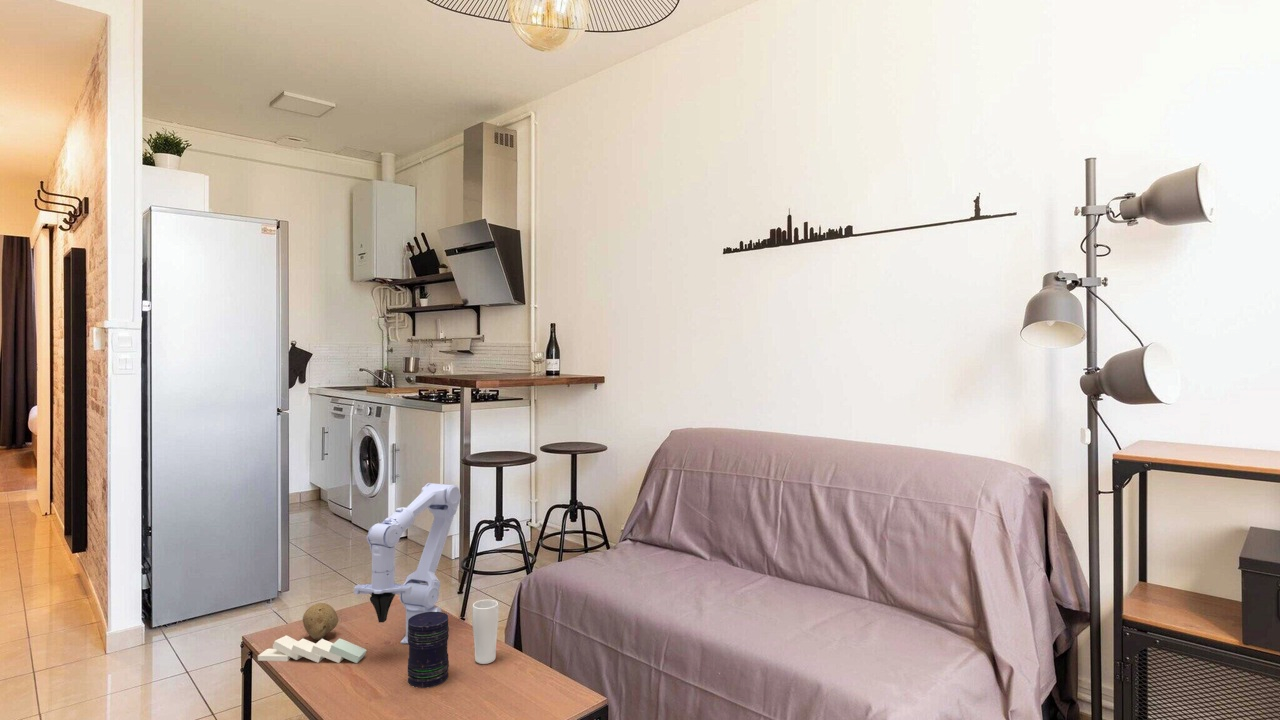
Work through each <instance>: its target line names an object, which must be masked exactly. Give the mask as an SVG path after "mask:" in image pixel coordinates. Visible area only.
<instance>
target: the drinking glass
mask: <svg viewBox="0 0 1280 720" xmlns="http://www.w3.org/2000/svg"><path fill="white" fill-rule="evenodd" d="M471 609H472V611H471V612H472V613H471V615H472V616H471V619H472V620H471V621H472V623H471V624H472V633H473V642H474V643H473V645H474V660H475V662H476V663H477V664H480V665H487V664H490V663H494V661H496V658H497V657H496V656H497V653H496V652H497V639H498V628H499V603H498V601H497V600H494V599H481V600H476V601H475V602H474V603H473V604H472V608H471Z"/></svg>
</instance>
